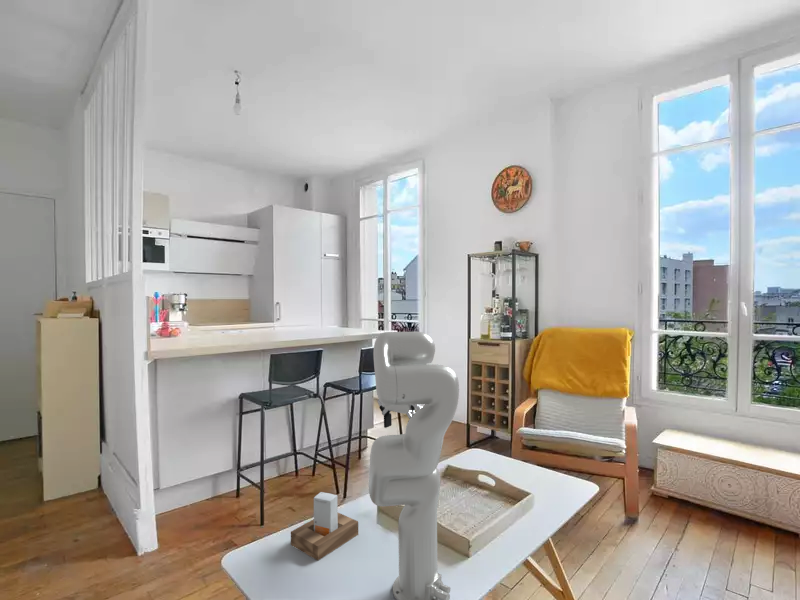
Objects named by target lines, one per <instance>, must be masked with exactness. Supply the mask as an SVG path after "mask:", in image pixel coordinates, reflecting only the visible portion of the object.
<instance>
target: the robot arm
mask: <svg viewBox="0 0 800 600" xmlns="http://www.w3.org/2000/svg"><path fill="white" fill-rule="evenodd" d="M435 345H436V344H435V341H434V340H433V338H432V337H431V336H430V335H428V334H427V333H424V332H422V331H389V332H388V331H386V332H382V333H380V334H379V335H378V336H377V337H376V339H375V342H374V345H373V367H374V376H375V388H376V389H375V390H376V395H377V398H378V399H377V401H376V402H377V403H378V406H379V410H380V411H381V414H382V415H383V427H384V428H385V429H387V428H389V427H391V426H392V422H393V421H392V413H391V412H395V413H400V414H404V415H405V414H406V416H407V417H408V421H407V423H406V426H405V433H402V434H391V435H390V434H387V435H382V436H379V437H377V438H375V439H374V441H373V442H372V445H371V449H370V456H369V468H368V469H369V471H368V494H369V497H370V500H371V502H372V503H373V504H374V505H375V506H378V507H391V506H403V508H402V509H401V512H400V514H399V518H398V527H397V528H398V532H397V533H398V534H397V535H398V540H397V541H398V576H397V577H396V578H395V580H394V581H393V585H392V593H393V597H394V598H395V600H451V595H450V593H451V587H450V586H448V585H446V584H445V583H444V582H443V581H442V574H441V573H439V572H438V506H439V505H438V503H439V496H440V490H441V474H440V471H439V469H438V465H439V461H440V458H441V454H442V447H443V443H444V437H445V435H446V432H447V430H448V429H449V427H450V426H451V424H452V421H453V419H454V417H455V415H456V412H457V409H458V404H459V399H460V398H459V397H460V394H459V393H460V384H459V379H458V375H457V373H456V372H455V371H454V369H452V368H450V367H448V366H445V365H441V364H431V363H432V362H433V360H434V357H435V353H436V346H435ZM422 405H423V406H422Z"/></svg>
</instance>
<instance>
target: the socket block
mask: <svg viewBox="0 0 800 600" xmlns="http://www.w3.org/2000/svg"><path fill="white" fill-rule="evenodd" d="M356 536H359V520H356V519H353V518H352V517H349V516H347V515H344V514H343V513H340V512H338V528H337V529H336V530H334V531H332V532H331V533H329V534H327V535H326V536H322V535H320V534H318V533H316V532H314V518H313V519H312V520H310V521H308V522H306V523H304V524H303V525H300V526H299V527H297V528H295V529H293V530H291V531H290V546H291V545H292V546H291V547H293V546H294V547H293V548H295V549H297V550H299V551H300V552H302V553H304V554H305V555H308V556H309V557H310V558H312V559H314V560H315V561H320V560H321V559H324V557H326V556H328V555H330V554H331V553H333V552H334V551H336V550H337V549H338V548H340V547H342V546H343V545H344V544H346V543H348V542H349V541H351V540H352V539H354V538H356Z"/></svg>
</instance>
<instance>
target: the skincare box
mask: <svg viewBox="0 0 800 600" xmlns="http://www.w3.org/2000/svg"><path fill="white" fill-rule="evenodd" d="M338 498H339V496H338V495H337V494H333V493H329V492H323V491H320V492H319V493H318V494H316V495H315V496H314V497H313V519H314V532H316V533H318V534H320V535H322V536H326V535H327V534H329V533H331V532H332V531H334V530H336V529H337V528H338V513H339V511H338V508H339V506H338Z"/></svg>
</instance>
